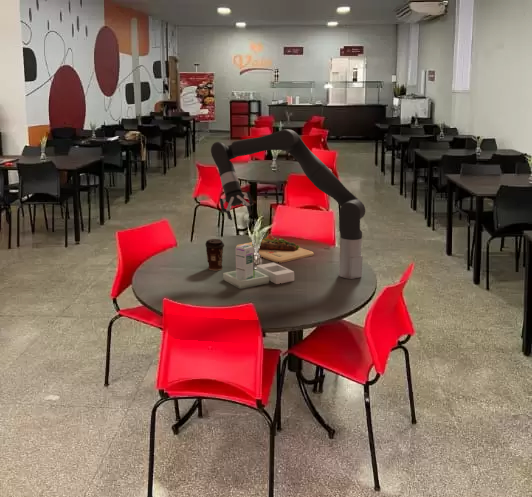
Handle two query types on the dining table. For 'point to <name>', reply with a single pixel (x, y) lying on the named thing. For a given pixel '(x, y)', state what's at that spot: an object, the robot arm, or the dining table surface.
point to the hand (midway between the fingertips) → (240, 217)
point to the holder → (276, 273)
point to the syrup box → (245, 262)
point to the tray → (258, 280)
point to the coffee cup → (214, 254)
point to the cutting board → (280, 250)
